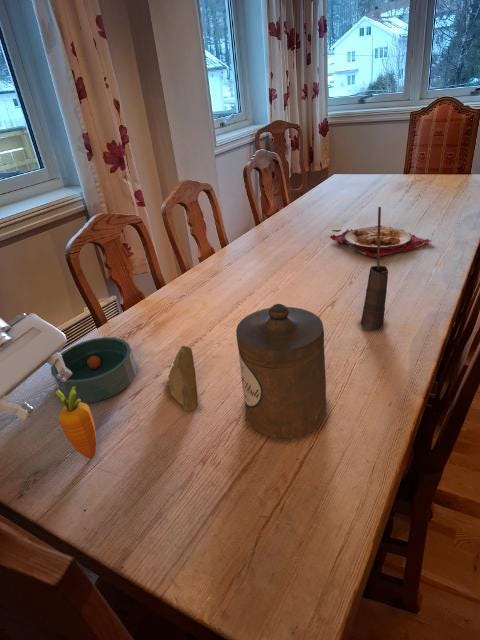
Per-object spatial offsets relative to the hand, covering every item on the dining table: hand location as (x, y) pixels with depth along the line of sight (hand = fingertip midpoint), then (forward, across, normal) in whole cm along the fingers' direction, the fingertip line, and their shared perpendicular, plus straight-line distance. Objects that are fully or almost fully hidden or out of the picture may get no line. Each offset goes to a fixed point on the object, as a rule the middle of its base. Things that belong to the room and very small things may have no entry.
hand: (50, 395), depth 69 cm
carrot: (+12, 0, -7) cm, 14 cm away
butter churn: (+44, -51, +24) cm, 71 cm away
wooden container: (+34, -19, +14) cm, 41 cm away
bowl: (+3, -20, -16) cm, 25 cm away
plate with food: (+42, -109, +22) cm, 119 cm away
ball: (0, -23, -16) cm, 28 cm away
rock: (+18, -19, -1) cm, 26 cm away
